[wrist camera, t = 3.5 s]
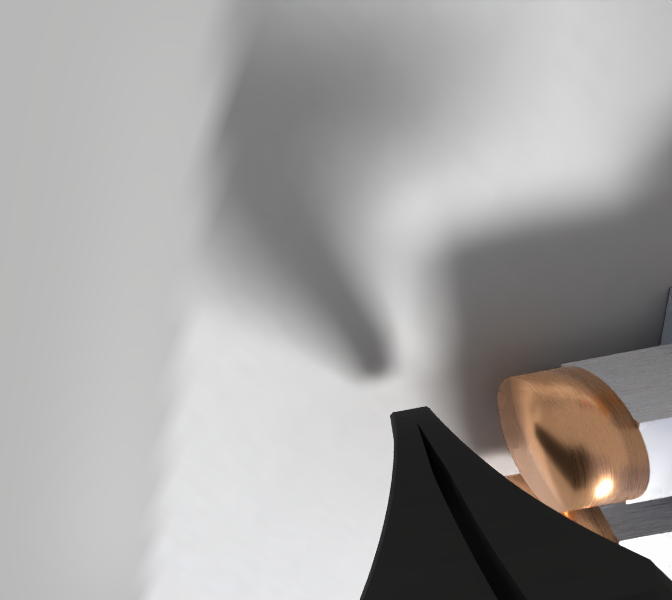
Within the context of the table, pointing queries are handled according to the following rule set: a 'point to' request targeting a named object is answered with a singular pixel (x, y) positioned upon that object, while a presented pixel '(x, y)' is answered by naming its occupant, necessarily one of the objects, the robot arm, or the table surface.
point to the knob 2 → (627, 525)
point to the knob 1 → (593, 429)
